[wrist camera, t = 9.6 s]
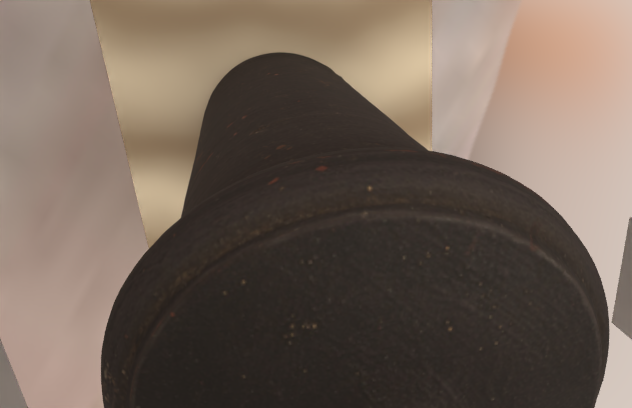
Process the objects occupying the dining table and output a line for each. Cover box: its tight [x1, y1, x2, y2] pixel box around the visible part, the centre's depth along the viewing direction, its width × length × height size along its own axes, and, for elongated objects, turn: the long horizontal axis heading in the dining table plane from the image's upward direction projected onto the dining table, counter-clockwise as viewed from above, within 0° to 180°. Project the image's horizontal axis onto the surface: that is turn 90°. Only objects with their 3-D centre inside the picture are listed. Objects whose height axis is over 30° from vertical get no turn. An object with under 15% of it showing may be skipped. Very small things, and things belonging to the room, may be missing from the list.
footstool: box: [90, 0, 432, 248], centre depth 30 cm, size 16×16×9 cm
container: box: [101, 52, 609, 408], centre depth 17 cm, size 9×9×20 cm
